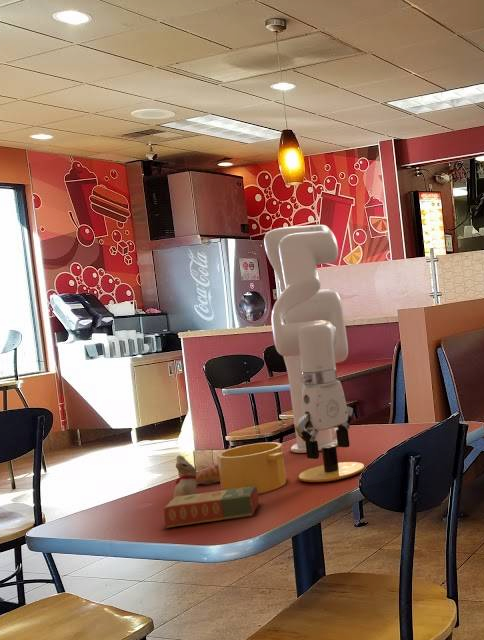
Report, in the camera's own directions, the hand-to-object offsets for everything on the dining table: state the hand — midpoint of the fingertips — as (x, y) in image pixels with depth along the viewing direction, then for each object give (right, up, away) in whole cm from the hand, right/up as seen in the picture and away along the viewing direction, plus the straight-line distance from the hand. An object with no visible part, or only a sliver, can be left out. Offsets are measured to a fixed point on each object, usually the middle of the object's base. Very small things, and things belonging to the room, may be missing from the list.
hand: (328, 452), depth 169 cm
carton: (-17, -8, -24) cm, 31 cm away
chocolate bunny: (-29, -9, -8) cm, 32 cm away
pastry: (-27, -8, +8) cm, 30 cm away
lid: (+1, -4, -1) cm, 5 cm away
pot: (-16, -7, -4) cm, 18 cm away
